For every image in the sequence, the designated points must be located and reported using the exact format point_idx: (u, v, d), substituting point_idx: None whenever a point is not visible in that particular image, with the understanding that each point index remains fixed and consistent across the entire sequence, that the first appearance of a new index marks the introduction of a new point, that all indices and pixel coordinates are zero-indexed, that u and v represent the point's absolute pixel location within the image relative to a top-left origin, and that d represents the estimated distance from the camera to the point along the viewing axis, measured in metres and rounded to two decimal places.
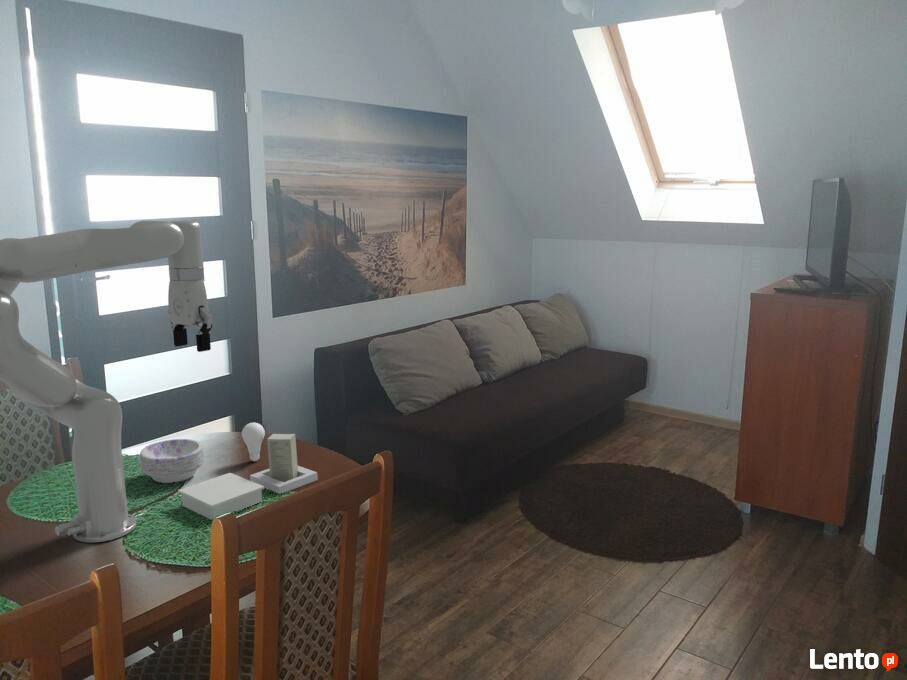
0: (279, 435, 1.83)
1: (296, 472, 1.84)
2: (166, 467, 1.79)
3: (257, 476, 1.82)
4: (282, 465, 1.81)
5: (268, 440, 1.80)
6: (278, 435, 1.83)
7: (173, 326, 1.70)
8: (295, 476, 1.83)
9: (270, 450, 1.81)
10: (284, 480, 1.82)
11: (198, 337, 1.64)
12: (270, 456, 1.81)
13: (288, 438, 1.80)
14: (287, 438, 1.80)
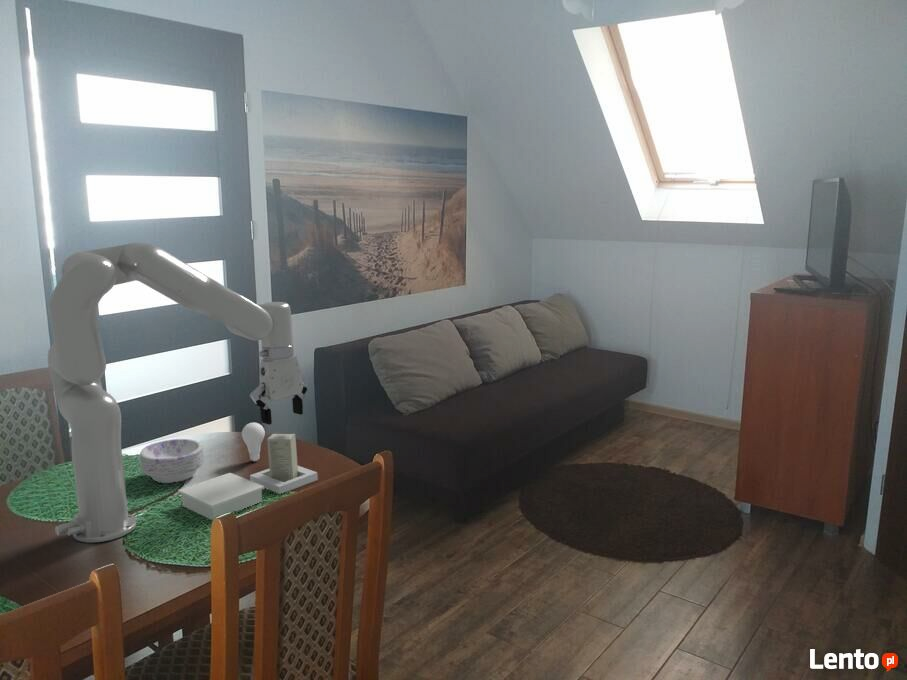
0: (279, 435, 1.83)
1: (296, 472, 1.84)
2: (166, 467, 1.79)
3: (257, 476, 1.82)
4: (282, 465, 1.81)
5: (268, 440, 1.80)
6: (278, 435, 1.83)
7: (267, 406, 1.76)
8: (295, 476, 1.83)
9: (270, 450, 1.81)
10: (284, 480, 1.82)
11: None
12: (270, 456, 1.81)
13: (288, 438, 1.80)
14: (287, 438, 1.80)
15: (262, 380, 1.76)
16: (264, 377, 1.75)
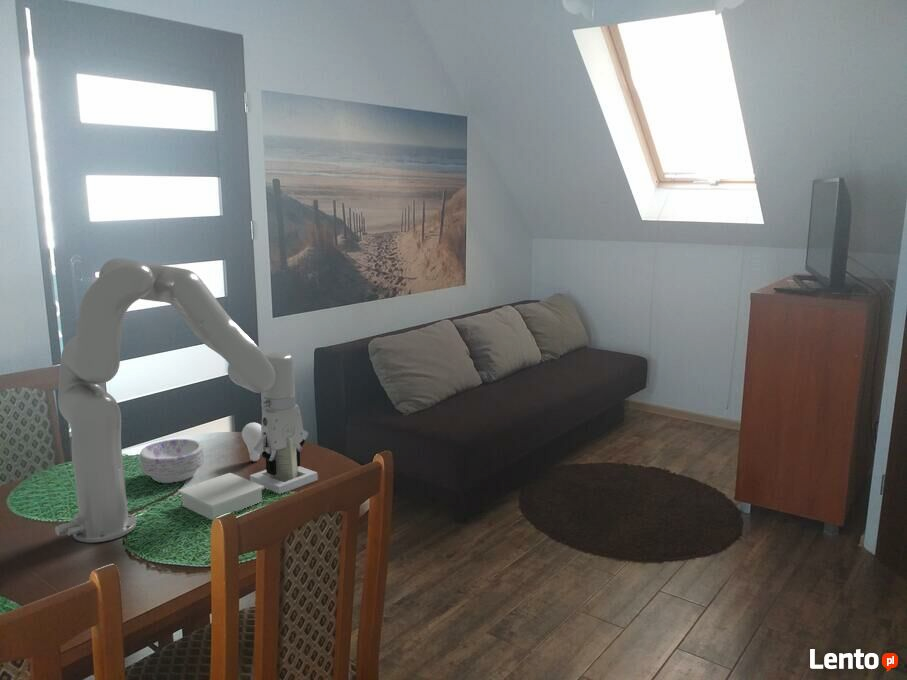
0: None
1: (296, 472, 1.84)
2: (166, 467, 1.79)
3: (257, 476, 1.82)
4: (282, 465, 1.81)
5: None
6: None
7: (272, 457, 1.79)
8: (295, 476, 1.83)
9: (270, 450, 1.81)
10: (284, 480, 1.82)
11: None
12: None
13: None
14: None
15: (263, 429, 1.78)
16: (266, 427, 1.77)
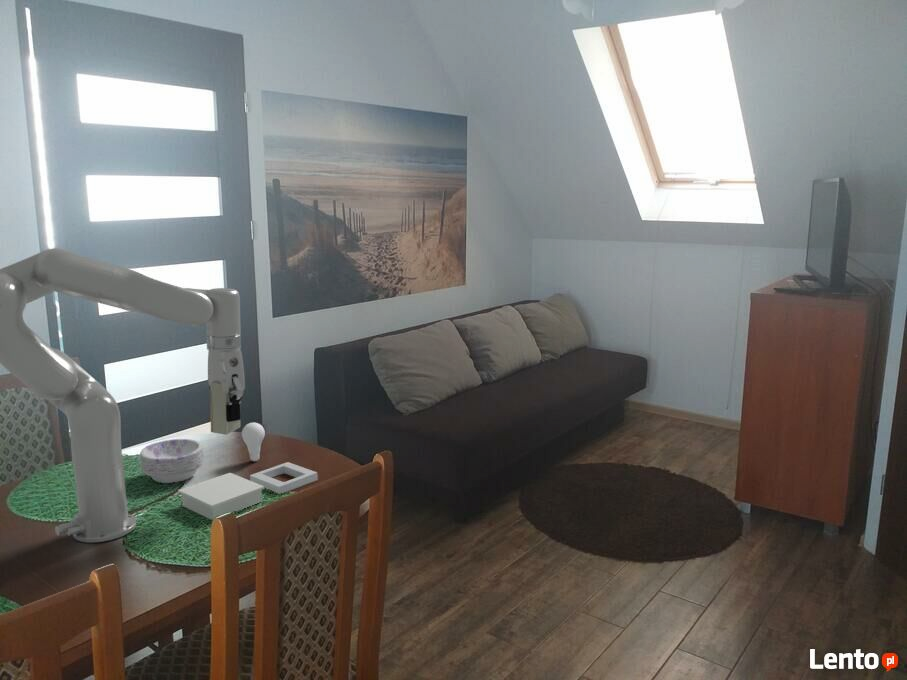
0: None
1: None
2: (166, 467, 1.79)
3: (257, 476, 1.82)
4: None
5: None
6: None
7: None
8: None
9: None
10: (235, 425, 1.69)
11: None
12: (227, 403, 1.65)
13: None
14: None
15: (232, 372, 1.63)
16: (237, 368, 1.63)
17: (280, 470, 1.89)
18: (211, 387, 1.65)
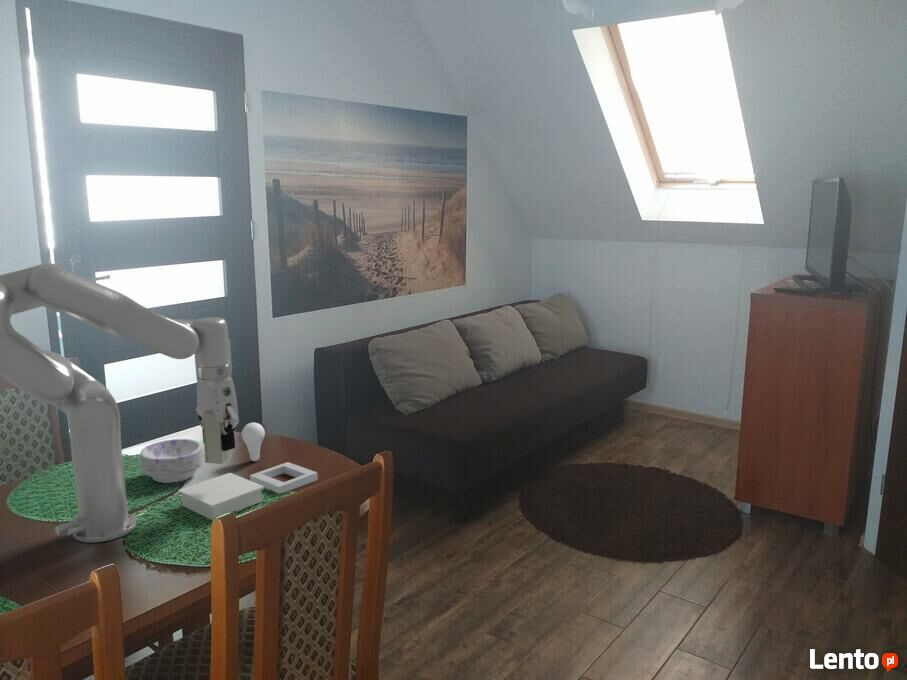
0: None
1: None
2: (166, 467, 1.79)
3: (257, 476, 1.82)
4: None
5: None
6: None
7: None
8: None
9: None
10: (229, 453, 1.69)
11: None
12: (221, 433, 1.64)
13: None
14: None
15: (226, 401, 1.62)
16: (230, 397, 1.63)
17: (280, 470, 1.89)
18: (204, 418, 1.63)
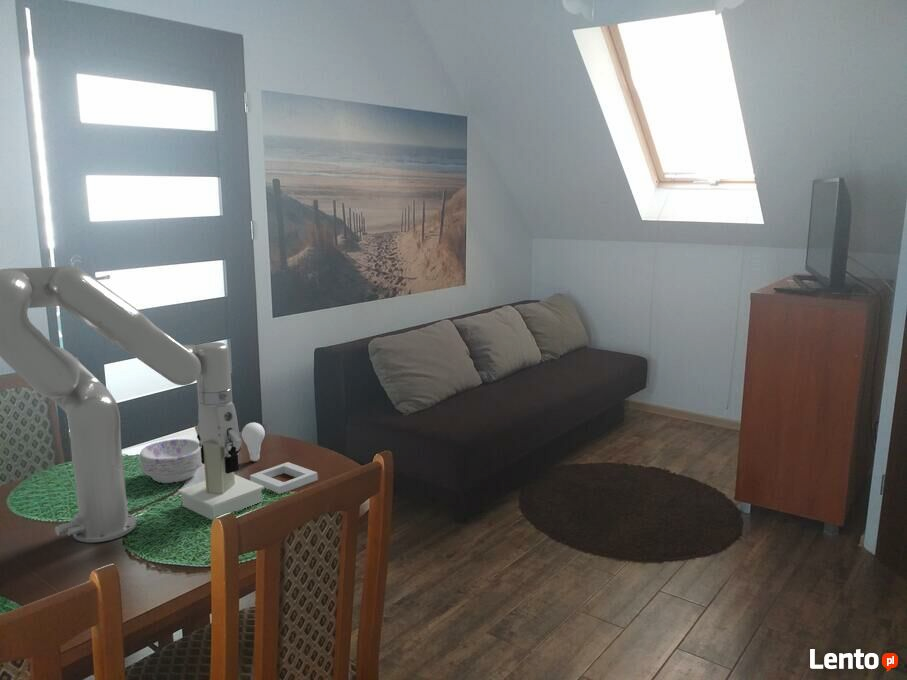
0: None
1: None
2: (166, 467, 1.79)
3: (257, 476, 1.82)
4: None
5: None
6: None
7: None
8: None
9: (222, 456, 1.65)
10: (230, 483, 1.70)
11: None
12: (222, 463, 1.65)
13: None
14: None
15: (227, 426, 1.63)
16: (231, 421, 1.64)
17: (280, 470, 1.89)
18: (204, 448, 1.65)
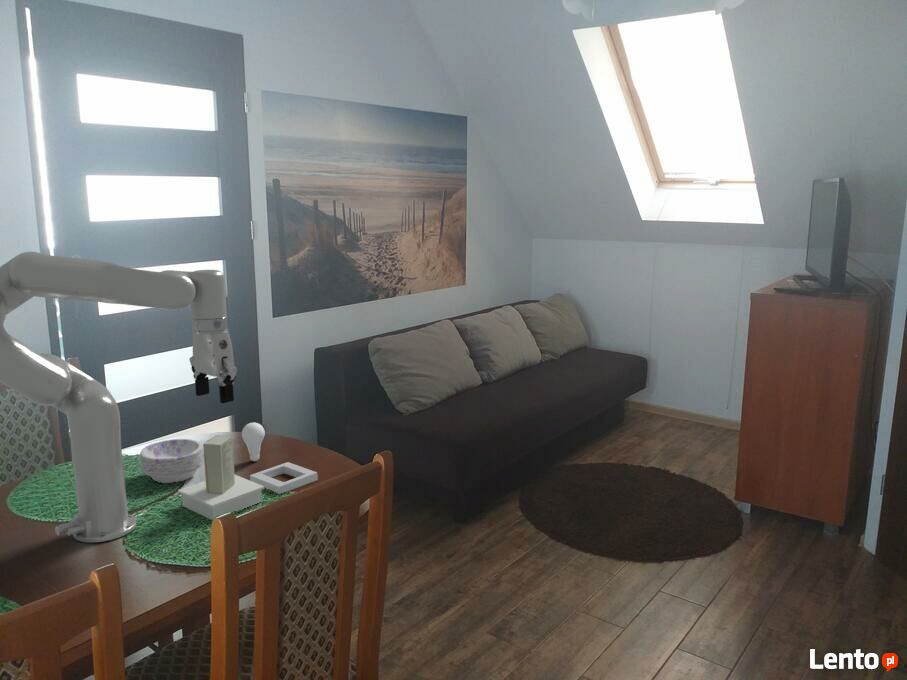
0: (212, 440, 1.66)
1: None
2: (166, 467, 1.79)
3: (257, 476, 1.82)
4: (229, 468, 1.69)
5: (220, 446, 1.64)
6: (212, 441, 1.66)
7: None
8: None
9: (222, 456, 1.65)
10: (230, 483, 1.70)
11: None
12: (222, 463, 1.65)
13: (228, 437, 1.69)
14: (227, 437, 1.69)
15: (222, 354, 1.60)
16: (226, 350, 1.61)
17: (280, 470, 1.89)
18: (204, 448, 1.65)
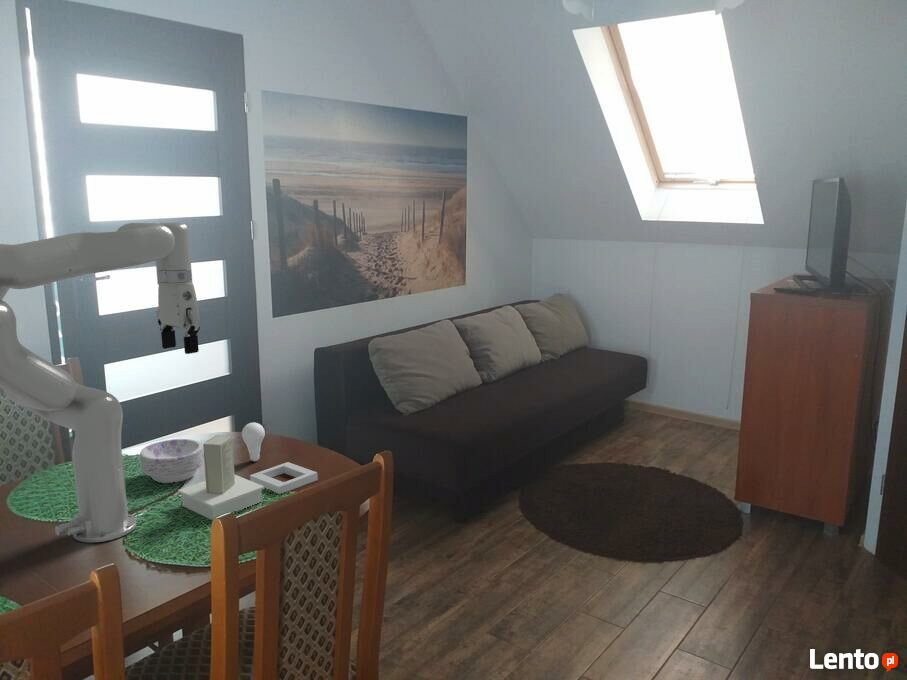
0: (212, 440, 1.66)
1: None
2: (166, 467, 1.79)
3: (257, 476, 1.82)
4: (229, 468, 1.69)
5: (220, 446, 1.64)
6: (212, 441, 1.66)
7: None
8: None
9: (222, 456, 1.65)
10: (230, 483, 1.70)
11: None
12: (222, 463, 1.65)
13: (228, 437, 1.69)
14: (227, 437, 1.69)
15: (186, 305, 1.63)
16: (190, 301, 1.63)
17: (280, 470, 1.89)
18: (204, 448, 1.65)
